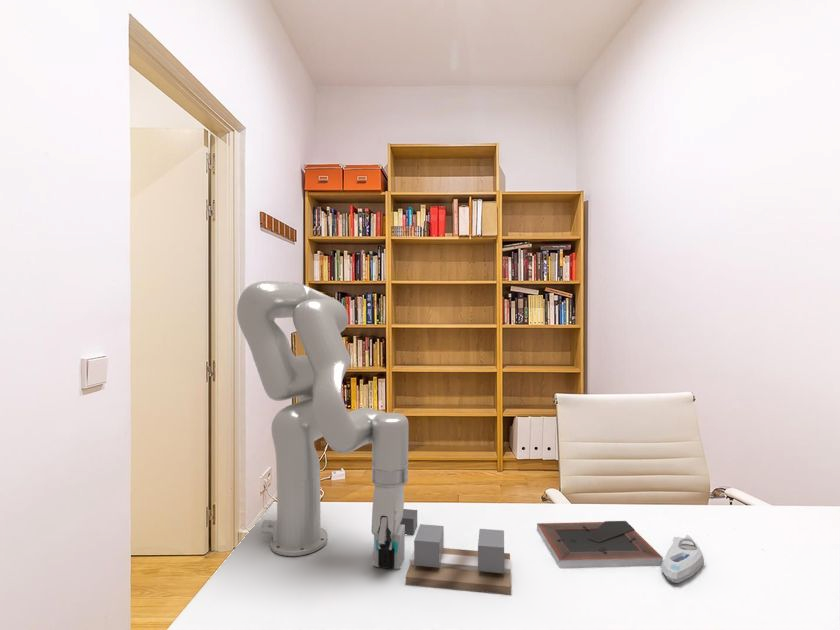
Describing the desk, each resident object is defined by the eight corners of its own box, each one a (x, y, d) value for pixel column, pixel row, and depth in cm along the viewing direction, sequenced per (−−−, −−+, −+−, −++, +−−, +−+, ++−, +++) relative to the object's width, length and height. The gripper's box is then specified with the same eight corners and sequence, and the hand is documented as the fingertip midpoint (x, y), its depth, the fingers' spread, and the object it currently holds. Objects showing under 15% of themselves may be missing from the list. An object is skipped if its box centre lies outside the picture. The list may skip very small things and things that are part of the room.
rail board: (405, 584, 93) (405, 571, 93) (416, 552, 105) (416, 541, 105) (511, 594, 90) (511, 581, 90) (509, 560, 101) (509, 548, 101)
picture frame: (625, 530, 116) (536, 532, 115) (625, 520, 116) (536, 522, 115) (662, 568, 99) (559, 571, 99) (663, 556, 99) (559, 559, 98)
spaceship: (695, 595, 90) (695, 571, 90) (656, 584, 94) (656, 561, 93) (708, 544, 109) (708, 524, 108) (675, 536, 112) (675, 517, 112)
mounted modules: (414, 565, 95) (414, 540, 95) (420, 547, 102) (420, 524, 102) (504, 573, 92) (504, 547, 92) (504, 554, 99) (504, 530, 99)
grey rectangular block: (396, 534, 113) (396, 517, 113) (401, 524, 118) (401, 508, 118) (413, 536, 113) (413, 519, 112) (417, 526, 117) (417, 509, 117)
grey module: (373, 567, 99) (373, 533, 99) (379, 554, 104) (379, 522, 103) (399, 569, 98) (400, 535, 98) (404, 557, 103) (404, 524, 102)
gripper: (382, 459, 109) (381, 538, 110) (360, 488, 92) (360, 581, 93) (415, 461, 108) (414, 541, 109) (399, 491, 91) (398, 585, 92)
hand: (389, 558), depth 101 cm, fingers closed on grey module, 4 cm apart
